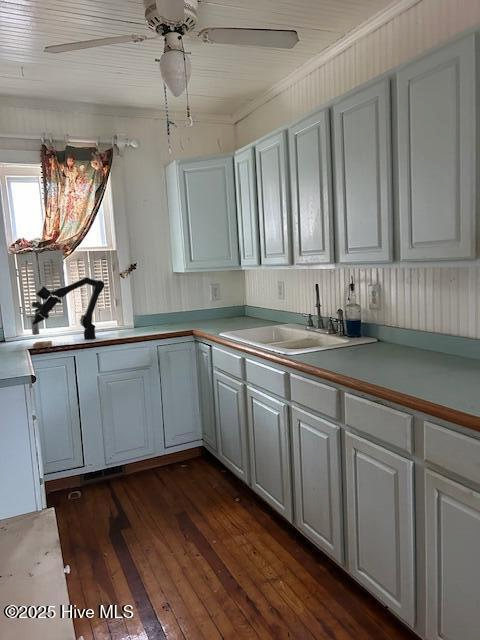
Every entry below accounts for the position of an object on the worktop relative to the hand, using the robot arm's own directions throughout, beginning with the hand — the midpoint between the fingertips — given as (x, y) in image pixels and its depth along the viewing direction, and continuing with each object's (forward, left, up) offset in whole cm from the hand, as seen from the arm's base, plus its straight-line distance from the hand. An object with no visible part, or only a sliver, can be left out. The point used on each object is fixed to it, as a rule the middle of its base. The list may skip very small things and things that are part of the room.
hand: (32, 324), depth 298 cm
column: (-1, 0, -7) cm, 7 cm away
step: (-6, +7, -13) cm, 17 cm away
